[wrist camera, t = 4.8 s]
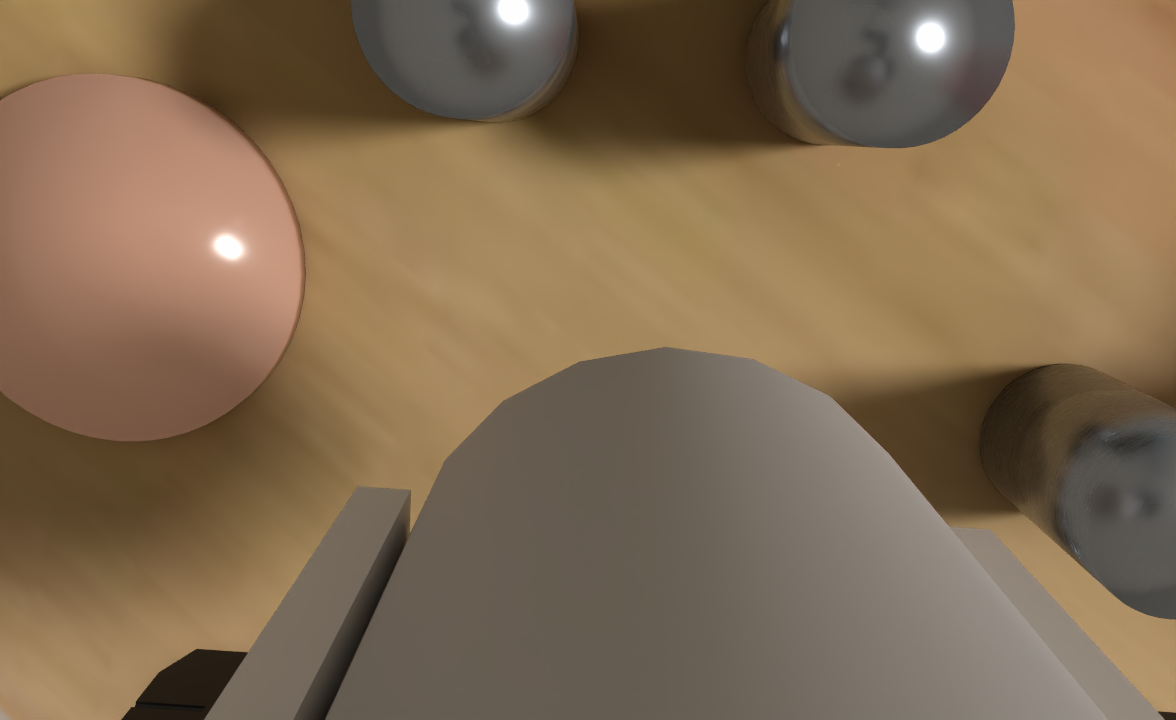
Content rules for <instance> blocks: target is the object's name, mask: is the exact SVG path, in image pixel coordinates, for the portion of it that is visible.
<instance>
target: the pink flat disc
mask: <svg viewBox="0 0 1176 720" xmlns="http://www.w3.org/2000/svg"><path fill="white" fill-rule="evenodd" d="M305 278H306V268H305V251H304V245H303V240H302V235H301V229H300V225H299V222H298V219H297V216H296V213H295V210H294V207H293V204H292V201H291V199H290V197H289V195H288V193H287V191H286V189H285V186H284V184H283V182H282V180H281V179H280V177H279V176H278V174H277V172H276V171H275V169H274V168H273V166H272V164H271V163H270V161H269V160H268V159H267V157H266V156H265V155H264V154H263V152H262V151H261V150H260V149H259V147H258V146H257V145H256V144H255V143H254V141H253V140H252V139H251V138H250V137H249V136H248V135H247V134H246V133H244V132H243V131H242V130H241V129H240V128H239V127H238V126H237V125H236V124H235V123H234V122H233V121H231V120H230V119H229V118H227V117H226V116H225V115H223V114H222V113H221V112H219V111H218V110H217V109H215V108H214V107H212V106H210V105H209V104H207V103H205V102H203V101H202V100H200V99H198V98H196V97H195V96H193V95H191V94H188V93H186V92H183V91H181V90H179V89H176V88H174V87H171V86H169V85H165V84H162V83H158V82H154V81H151V80H147V79H141V78H134V77H127V76H119V75H111V74H75V75H68V76H61V77H55V78H51V79H48V80H44V81H41V82H37V83H34V84H31V85H29V86H27V87H24V88H22V89H20V90H18V91H16V92H13V93H11V94H9V95H8V96H6V97H5V98H3V99H2V100H0V391H1V392H2V393H3V394H4V395H5V396H6V397H7V398H9V399H10V400H12V401H13V402H14V403H16V404H17V405H19V406H20V407H22V408H23V409H25V410H26V411H28V412H29V413H31V414H33V415H35V416H37V417H39V418H40V419H42V420H44V421H46V422H48V423H50V424H52V425H55V426H57V427H60V428H63V429H65V430H68V431H70V432H73V433H77V434H81V435H85V436H89V437H93V438H97V439H105V440H113V441H149V440H157V439H165V438H169V437H173V436H177V435H180V434H184V433H187V432H190V431H192V430H195V429H197V428H200V427H202V426H205V425H207V424H209V423H210V422H212V421H214V420H216V419H217V418H219V417H221V416H222V415H224V414H226V413H227V412H229V411H230V410H231V409H233V408H234V407H235V406H237V405H238V404H239V403H241V402H242V401H243V400H244V399H246V398H247V397H248V396H249V395H251V394H252V393H253V392H255V390H256V389H257V388H258V387H259V386H260V385H261V384H262V383H263V382H264V381H265V380H266V379H267V378H268V377H269V376H270V374H271V373H272V372H273V370H274V369H275V367H276V366H277V365H278V363H279V362H280V360H281V359H282V357H283V356H284V354H285V352H286V350H287V348H288V346H289V344H290V342H291V340H292V338H293V335H294V332H295V330H296V327H297V324H298V321H299V318H300V314H301V309H302V304H303V299H304V292H305Z"/></svg>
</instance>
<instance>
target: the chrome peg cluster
mask: <svg viewBox="0 0 1176 720" xmlns="http://www.w3.org/2000/svg"><path fill="white" fill-rule="evenodd" d="M351 14H352V20H353V26H354V30H355V33H356V37H357V40H358V43H359V45H360V47H361V50H362V52H363V54H364V56H365V58H366V60H367V61H368V63H369V65H370V66H371V68H372V70H373V71H374V72H375V73H376V75H377V76H378V77H379V78H380V80H381V81H382V82H383V83H384V84H385V85H386V86H387V87H388V88H389V89H390V90H391V91H392V92H394V93H395V94H396V95H397V96H399V97H400V98H401V99H403V100H404V101H406V102H408V103H409V104H411V105H413V106H414V107H416V108H419V109H421V110H423V111H426V112H428V113H431V114H435V115H438V116H442V117H449V118H456V119H465V120H475V121H484V122H508V121H514V120H518V119H521V118H524V117H527V116H529V115H531V114H533V113H535V112H537V111H539V110H540V109H542V108H543V107H545V106H546V105H547V104H548V103H550V102H551V101H552V100H553V99H554V98H555V97H556V96H557V95H558V94H559V92H560V91H561V89H562V88H563V87H564V85H565V84H566V82H567V80H568V78H569V77H570V75H571V72H572V70H573V67H574V65H575V61H576V57H577V53H578V45H579V28H578V20H577V15H576V10H575V5H574V1H573V0H351ZM1014 30H1015V23H1014V9H1013V3H1012V0H769V1H768V3H767V4H766V5H765V6H764V8H763V9H762V10H761V12H760V14H759V15H758V17H757V19H756V21H755V23H754V25H753V28H752V30H751V33H750V36H749V40H748V44H747V50H746V75H747V80H748V85H749V88H750V91H751V94H752V96H753V99H754V101H755V102H756V104H757V106H758V108H759V109H760V111H761V112H762V114H763V115H764V116H765V117H766V118H767V119H768V121H769V122H770V123H771V124H772V125H774V126H775V127H776V128H777V129H779V130H780V131H781V132H783V133H785V134H786V135H788V136H790V137H792V138H795V139H797V140H799V141H803V142H807V143H811V144H819V145H837V146H857V147H877V148H907V147H914V146H919V145H923V144H927V143H931V142H933V141H936V140H938V139H940V138H943V137H945V136H947V135H949V134H950V133H952V132H954V131H956V130H957V129H959V128H960V127H962V126H963V125H964V124H966V123H967V122H968V121H970V120H971V119H972V118H973V117H974V116H975V115H976V114H977V113H978V112H979V111H980V110H981V109H982V108H983V107H984V105H985V104H986V103H987V102H988V101H989V99H990V98H991V96H992V95H993V93H994V92H995V90H996V89H997V87H998V86H999V83H1000V81H1001V79H1002V77H1003V75H1004V73H1005V71H1006V68H1007V65H1008V62H1009V59H1010V56H1011V51H1012V46H1013V41H1014ZM980 454H981V459H982V463H983V466H984V469H985V472H986V474H987V476H988V478H989V480H990V481H991V482H992V484H993V485H994V487H995V488H996V489H997V490H998V491H999V492H1000V493H1001V494H1002V495H1003V496H1004V497H1005V498H1006V499H1008V500H1009V501H1010V502H1011V503H1012V504H1013V505H1014V506H1015V507H1016V508H1018V509H1019V510H1020V511H1021V512H1022V513H1023V514H1024V515H1025V516H1026V517H1028V518H1029V519H1030V520H1031V521H1032V522H1033V523H1034V524H1035V525H1036V526H1038V527H1039V528H1040V529H1041V530H1042V531H1043V532H1044V533H1045V534H1046V535H1048V536H1049V537H1050V538H1051V539H1052V540H1053V541H1054V542H1055V543H1056V544H1058V545H1059V546H1060V547H1061V548H1062V549H1063V550H1064V551H1065V552H1066V553H1068V554H1069V555H1070V556H1071V557H1072V558H1073V559H1074V560H1075V561H1076V562H1078V563H1079V564H1080V565H1081V566H1082V567H1083V568H1084V569H1085V570H1086V571H1088V572H1089V573H1090V574H1091V575H1092V576H1093V577H1094V578H1095V579H1096V580H1098V581H1099V582H1100V583H1101V584H1102V585H1103V586H1104V587H1105V588H1106V589H1108V590H1109V591H1110V592H1111V593H1112V594H1113V595H1114V596H1115V597H1117V598H1118V599H1119V600H1120V601H1122V602H1123V603H1124V604H1126V605H1128V606H1129V607H1131V608H1133V609H1134V610H1137V611H1139V612H1142V613H1144V614H1146V615H1150V616H1154V617H1158V618H1165V619H1176V408H1175V407H1173V406H1171V405H1169V404H1166V403H1164V402H1162V401H1160V400H1158V399H1156V398H1154V397H1152V396H1150V395H1148V394H1146V393H1143V392H1141V391H1139V390H1137V389H1135V388H1133V387H1131V386H1129V385H1127V384H1125V383H1122V382H1120V381H1118V380H1116V379H1114V378H1112V377H1110V376H1108V375H1106V374H1104V373H1102V372H1099V371H1097V370H1095V369H1092V368H1089V367H1086V366H1082V365H1075V364H1057V365H1049V366H1045V367H1041V368H1038V369H1036V370H1033V371H1031V372H1029V373H1027V374H1025V375H1023V376H1021V377H1019V378H1018V379H1017V380H1015V381H1014V382H1012V383H1011V384H1010V385H1009V386H1008V387H1007V388H1005V389H1004V390H1003V391H1002V393H1001V394H1000V395H999V396H998V397H997V398H996V400H995V401H994V403H993V404H992V406H991V407H990V409H989V411H988V413H987V415H986V418H985V420H984V423H983V427H982V431H981V438H980Z"/></svg>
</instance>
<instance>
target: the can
mask: <svg viewBox="0 0 1176 720" xmlns="http://www.w3.org/2000/svg"><path fill="white" fill-rule="evenodd" d="M325 720H1108V719H1107V718H1106V716H1105V715H1104V714H1103V713H1102V712H1101V710H1100V709H1099V708H1098V707H1097V706H1096V704H1095V703H1094V702H1093V701H1092V699H1091V698H1090V697H1089V696H1088V695H1087V693H1086V692H1085V691H1084V690H1083V689H1082V687H1081V686H1080V685H1079V684H1078V682H1077V681H1076V680H1075V679H1074V678H1073V676H1072V675H1071V674H1070V673H1069V672H1068V670H1067V669H1066V668H1065V667H1064V666H1063V664H1062V663H1061V662H1060V661H1059V659H1058V658H1057V657H1056V656H1055V655H1054V653H1053V652H1052V651H1051V650H1050V649H1049V647H1048V646H1047V645H1046V644H1045V642H1044V641H1043V640H1042V639H1041V638H1040V636H1039V635H1038V634H1037V633H1036V632H1035V630H1034V629H1033V628H1032V627H1031V625H1030V624H1029V623H1028V622H1027V621H1026V619H1025V618H1024V617H1023V616H1022V615H1021V613H1020V612H1019V611H1018V610H1017V609H1016V607H1015V606H1014V605H1013V604H1012V602H1011V601H1010V600H1009V599H1008V598H1007V596H1006V595H1005V594H1004V593H1003V592H1002V590H1001V589H1000V588H999V587H998V585H997V584H996V583H995V582H994V581H993V579H992V578H991V577H990V576H989V575H988V573H987V572H986V571H985V570H984V569H983V567H982V566H981V565H980V564H979V562H978V561H977V560H976V559H975V558H974V556H973V555H972V554H971V553H970V552H969V550H968V549H967V548H966V547H965V545H964V544H963V543H962V542H961V541H960V539H959V538H958V537H957V536H956V535H955V533H954V532H953V531H952V530H951V529H950V527H949V526H948V525H947V524H946V522H945V521H944V520H943V519H942V518H941V516H940V515H939V514H938V513H937V512H936V510H935V509H934V508H933V507H932V505H931V504H930V503H929V502H928V501H927V499H926V498H925V497H924V496H923V495H922V493H921V492H920V491H919V490H918V488H917V487H916V486H915V485H914V484H913V482H912V481H911V480H910V479H909V478H908V476H907V475H906V474H905V473H904V472H903V470H902V469H901V468H900V467H899V465H898V464H897V463H896V462H895V461H894V459H893V458H892V457H891V456H890V455H889V453H888V452H887V451H885V450H884V449H883V448H882V447H881V446H880V445H879V444H878V443H877V442H876V441H875V440H874V439H873V438H872V437H871V436H870V435H869V434H868V433H867V432H866V431H865V430H864V429H863V428H862V427H861V426H860V425H859V424H858V423H857V422H856V421H855V420H854V419H853V418H852V417H851V416H850V415H849V414H848V413H847V412H846V411H845V410H844V409H843V408H842V407H841V406H840V405H839V404H838V403H837V402H835V401H834V400H833V399H832V398H831V397H830V396H828V395H826V394H824V393H822V392H820V391H818V390H816V389H814V388H812V387H810V386H808V385H806V384H804V383H802V382H799V381H797V380H795V379H793V378H791V377H789V376H787V375H785V374H783V373H781V372H779V371H777V370H775V369H773V368H770V367H768V366H766V365H764V364H762V363H760V362H758V361H756V360H754V359H749V358H742V357H734V356H727V355H720V354H713V353H706V352H698V351H691V350H684V349H677V348H669V347H663V348H657V349H651V350H646V351H640V352H634V353H628V354H622V355H616V356H610V357H604V358H598V359H592V360H587V361H581V362H578V363H576V364H574V365H572V366H570V367H568V368H566V369H564V370H562V371H560V372H558V373H557V374H555V375H553V376H551V377H549V378H547V379H545V380H543V381H541V382H539V383H537V384H535V385H533V386H531V387H529V388H527V389H525V390H524V391H522V392H520V393H518V394H516V395H514V396H512V397H510V398H508V399H506V400H504V401H503V402H502V403H501V404H500V405H499V406H498V407H497V408H496V409H495V410H494V411H493V412H492V413H491V414H490V415H489V416H488V417H487V418H486V419H485V420H484V421H483V422H482V423H481V424H480V425H479V426H478V427H477V428H476V429H475V430H474V431H473V432H472V433H471V434H470V435H469V436H468V437H467V438H466V439H465V440H464V441H463V442H462V443H461V444H460V445H459V446H458V447H457V448H456V449H455V450H454V452H453V453H452V454H451V455H450V456H449V457H448V458H447V459H446V460H445V462H444V464H443V466H442V468H441V470H440V472H439V474H438V476H437V478H436V480H435V483H434V485H433V487H432V489H431V491H430V493H429V495H428V497H427V499H426V501H425V504H424V506H423V508H422V510H421V512H420V514H419V516H418V518H417V520H416V522H415V525H414V527H413V529H412V531H411V533H410V535H409V537H408V540H407V542H406V544H405V546H404V548H403V550H402V553H401V555H400V557H399V559H398V561H397V563H396V566H395V568H394V570H393V572H392V574H391V577H390V579H389V581H388V583H387V585H386V587H385V590H384V592H383V594H382V596H381V598H380V600H379V603H378V605H377V607H376V609H375V611H374V613H373V616H372V618H371V620H370V622H369V624H368V627H367V629H366V631H365V633H364V635H363V637H362V640H361V642H360V644H359V646H358V648H357V650H356V653H355V655H354V657H353V659H352V661H351V663H350V666H349V668H348V670H347V672H346V674H345V677H344V679H343V681H342V683H341V685H340V687H339V690H338V692H337V694H336V696H335V698H334V700H333V703H332V705H331V707H330V709H329V711H328V714H327V716H326V718H325Z"/></svg>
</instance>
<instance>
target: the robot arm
mask: <svg viewBox="0 0 1176 720" xmlns="http://www.w3.org/2000/svg"><path fill="white" fill-rule="evenodd" d="M410 502H411V490H404V489H389V488H374V487H360V486H358V487H357V488H356V490H355V491H354V493H353V494H352V496H351V497H350V499H349V500H348V502H347V503H346V505H345V506H344V508H343V509H342V511H341V512H340V514H339V515H338V517H337V518H336V520H335V522H334V523H333V525H332V526H331V528H330V529H329V531H328V532H327V534H326V535H325V537H324V538H323V540H322V541H321V543H320V544H319V546H318V547H317V549H316V550H315V552H314V553H313V555H312V556H311V558H310V559H309V561H308V563H307V564H306V566H305V567H304V569H303V570H302V572H301V573H300V575H299V576H298V578H297V579H296V581H295V582H294V584H293V585H292V587H291V588H290V590H289V591H288V593H287V594H286V596H285V597H284V599H283V600H282V602H281V604H280V605H279V607H278V608H277V610H276V611H275V613H274V614H273V616H272V617H271V619H270V620H269V622H268V623H267V625H266V626H265V628H264V629H263V631H262V632H261V634H260V635H259V637H258V638H257V640H256V642H255V643H254V645H253V646H252V648H251V649H250V651H249V652H248V653H247V652H233V651H218V650H203V649H196V650H194V651H193V652H191V653H190V654H188V655H186V656H185V657H183V658H181V659H180V660H178V661H177V662H175V663H173V664H172V665H170V666H169V667H167V668H165V669H164V670H162V671H161V672H159V673H158V674H157V676H156V677H155V678H154V679H153V681H152V682H151V683H150V684H149V686H148V687H147V688H146V689H145V691H144V692H143V693H142V694H141V696H140V697H139V698H138V699H137V701H136V705H135V707H131V708H130V710H129V711H128V712H127V713H126V715H125V716H124V717H123V718H122V720H325V718H326V716H327V714H328V711H329V709H330V707H331V705H332V703H333V700H334V698H335V696H336V694H337V692H338V690H339V687H340V685H341V683H342V681H343V679H344V677H345V674H346V672H347V670H348V668H349V666H350V663H351V661H352V659H353V657H354V655H355V653H356V650H357V648H358V646H359V644H360V642H361V640H362V637H363V635H364V633H365V631H366V629H367V627H368V624H369V622H370V620H371V618H372V616H373V613H374V611H375V609H376V607H377V605H378V603H379V600H380V598H381V596H382V594H383V592H384V590H385V587H386V585H387V583H388V581H389V579H390V577H391V574H392V572H393V570H394V568H395V566H396V563H397V561H398V559H399V557H400V555H401V553H402V550H403V548H404V546H405V544H406V542H407V540H408V537H409V535H410ZM950 529H951V530H952V531H953V532H954V533H955V535H956V536H957V537H958V538H959V539H960V541H961V542H962V543H963V544H964V545H965V547H966V548H967V549H968V550H969V552H970V553H971V554H972V555H973V556H974V558H975V559H976V560H977V561H978V562H979V564H980V565H981V566H982V567H983V569H984V570H985V571H986V572H987V573H988V575H989V576H990V577H991V578H992V579H993V581H994V582H995V583H996V584H997V585H998V587H999V588H1000V589H1001V590H1002V592H1003V593H1004V594H1005V595H1006V596H1007V598H1008V599H1009V600H1010V601H1011V602H1012V604H1013V605H1014V606H1015V607H1016V609H1017V610H1018V611H1019V612H1020V613H1021V615H1022V616H1023V617H1024V618H1025V619H1026V621H1027V622H1028V623H1029V624H1030V625H1031V627H1032V628H1033V629H1034V630H1035V632H1036V633H1037V634H1038V635H1039V636H1040V638H1041V639H1042V640H1043V641H1044V642H1045V644H1046V645H1047V646H1048V647H1049V649H1050V650H1051V651H1052V652H1053V653H1054V655H1055V656H1056V657H1057V658H1058V659H1059V661H1060V662H1061V663H1062V664H1063V666H1064V667H1065V668H1066V669H1067V670H1068V672H1069V673H1070V674H1071V675H1072V676H1073V678H1074V679H1075V680H1076V681H1077V682H1078V684H1079V685H1080V686H1081V687H1082V689H1083V690H1084V691H1085V692H1086V693H1087V695H1088V696H1089V697H1090V698H1091V699H1092V701H1093V702H1094V703H1095V704H1096V706H1097V707H1098V708H1099V709H1100V710H1101V712H1102V713H1103V714H1104V715H1105V716H1106V718H1107V719H1108V720H1176V713H1172V712H1157V711H1156V710H1155V708H1154V707H1153V706H1152V705H1151V704H1150V703H1149V702H1148V701H1147V700H1146V699H1145V698H1144V696H1143V695H1142V694H1141V693H1140V692H1139V691H1138V690H1137V689H1136V688H1135V687H1134V686H1133V684H1132V683H1131V682H1130V681H1129V680H1128V679H1127V678H1126V677H1125V676H1124V675H1123V674H1122V672H1121V671H1120V670H1119V669H1118V668H1117V667H1116V666H1115V665H1114V664H1113V663H1112V662H1111V660H1110V659H1109V658H1108V657H1107V656H1106V655H1105V654H1104V653H1103V652H1102V651H1101V650H1100V648H1099V647H1098V646H1097V645H1096V644H1095V643H1094V642H1093V641H1092V640H1091V639H1090V638H1089V636H1088V635H1087V634H1086V633H1085V632H1084V631H1083V630H1082V629H1081V628H1080V627H1079V626H1078V624H1077V623H1076V622H1075V621H1074V620H1073V619H1072V618H1071V617H1070V616H1069V615H1068V614H1067V612H1066V611H1065V610H1064V609H1063V608H1062V607H1061V606H1060V605H1059V604H1058V603H1057V602H1056V600H1055V599H1054V598H1053V597H1052V596H1051V595H1050V594H1049V593H1048V592H1047V591H1046V590H1045V589H1044V587H1043V586H1042V585H1041V584H1040V583H1039V582H1038V581H1037V580H1036V579H1035V578H1034V577H1033V575H1032V574H1031V573H1030V572H1029V571H1028V570H1027V569H1026V568H1025V567H1024V566H1023V565H1022V563H1021V562H1020V561H1019V560H1018V559H1017V558H1016V557H1015V556H1014V555H1013V554H1012V553H1011V551H1010V550H1009V549H1008V548H1007V547H1006V546H1005V545H1004V544H1003V543H1002V542H1001V541H1000V539H999V538H998V537H997V536H996V535H995V534H994V533H993V532H992V531H991V530H989V529H974V528H960V527H950Z"/></svg>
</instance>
